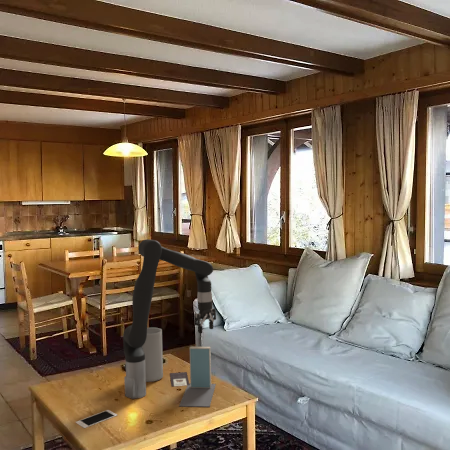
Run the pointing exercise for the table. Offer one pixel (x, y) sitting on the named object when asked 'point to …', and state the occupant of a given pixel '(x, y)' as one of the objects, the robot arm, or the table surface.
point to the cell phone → (96, 418)
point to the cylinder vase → (153, 355)
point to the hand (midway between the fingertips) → (205, 330)
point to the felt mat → (197, 396)
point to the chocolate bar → (179, 379)
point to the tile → (200, 367)
